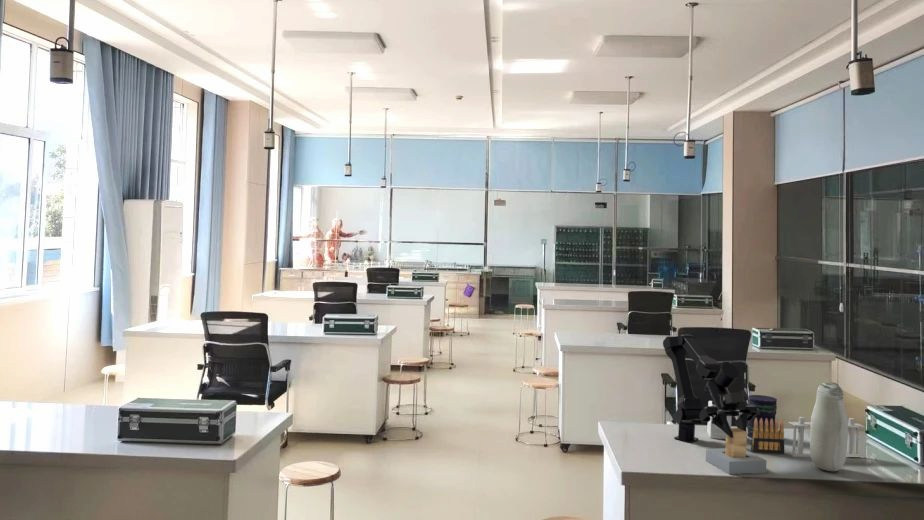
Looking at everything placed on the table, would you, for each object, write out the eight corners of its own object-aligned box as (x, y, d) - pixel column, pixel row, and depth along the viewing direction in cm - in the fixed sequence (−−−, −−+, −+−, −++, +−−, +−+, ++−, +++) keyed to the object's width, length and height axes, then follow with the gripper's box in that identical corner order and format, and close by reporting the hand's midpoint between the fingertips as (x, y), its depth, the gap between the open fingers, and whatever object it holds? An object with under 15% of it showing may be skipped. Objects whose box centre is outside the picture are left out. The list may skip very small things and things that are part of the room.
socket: (705, 460, 219) (706, 448, 219) (741, 459, 221) (741, 447, 221) (728, 474, 206) (729, 461, 206) (766, 472, 208) (766, 460, 208)
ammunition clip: (782, 452, 231) (783, 418, 231) (784, 454, 229) (786, 419, 229) (750, 450, 232) (752, 416, 232) (752, 452, 230) (754, 418, 230)
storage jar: (780, 441, 245) (782, 401, 244) (753, 440, 245) (755, 400, 244) (768, 434, 255) (769, 395, 254) (742, 433, 255) (744, 394, 254)
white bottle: (852, 473, 210) (856, 386, 210) (826, 476, 207) (830, 387, 207) (827, 463, 220) (831, 379, 219) (802, 465, 217) (805, 380, 216)
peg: (725, 455, 215) (726, 428, 215) (737, 455, 216) (738, 428, 216) (733, 460, 211) (734, 432, 211) (745, 459, 212) (746, 431, 212)
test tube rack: (856, 454, 232) (857, 417, 232) (864, 458, 227) (866, 420, 227) (786, 453, 231) (787, 415, 231) (793, 457, 226) (794, 418, 226)
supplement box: (731, 440, 245) (732, 406, 244) (709, 438, 246) (711, 404, 246) (727, 434, 252) (728, 401, 252) (706, 432, 253) (708, 400, 253)
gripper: (705, 381, 215) (723, 424, 205) (756, 381, 219) (777, 423, 208) (691, 400, 223) (708, 442, 212) (741, 399, 227) (760, 441, 216)
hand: (738, 437), depth 212 cm, fingers closed on peg, 4 cm apart
